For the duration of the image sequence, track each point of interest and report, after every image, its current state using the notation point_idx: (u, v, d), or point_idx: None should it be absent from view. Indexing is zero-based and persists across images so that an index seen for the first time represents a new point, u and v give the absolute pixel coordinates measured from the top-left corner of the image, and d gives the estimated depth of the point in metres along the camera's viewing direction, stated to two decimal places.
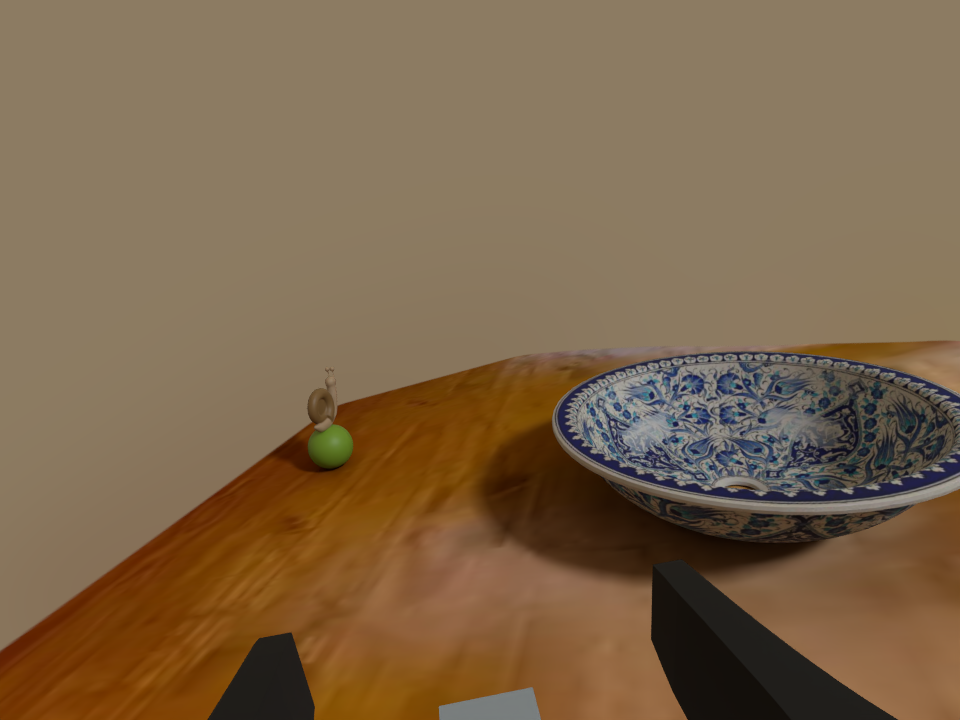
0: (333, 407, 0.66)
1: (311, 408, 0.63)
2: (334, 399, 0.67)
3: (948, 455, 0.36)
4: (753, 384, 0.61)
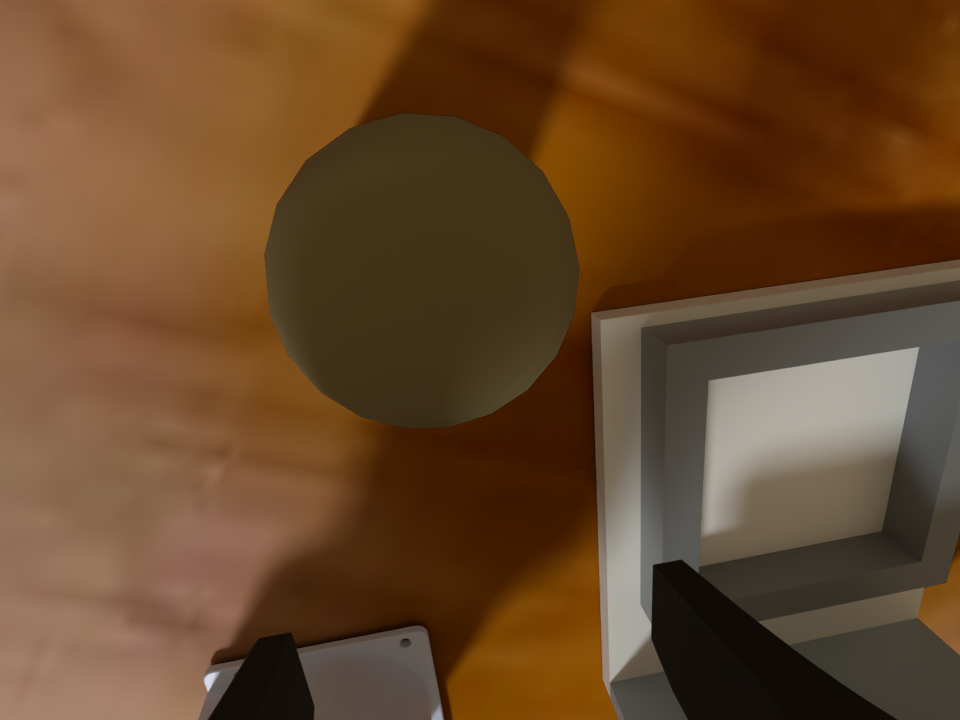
0: None
1: None
2: None
3: None
4: None
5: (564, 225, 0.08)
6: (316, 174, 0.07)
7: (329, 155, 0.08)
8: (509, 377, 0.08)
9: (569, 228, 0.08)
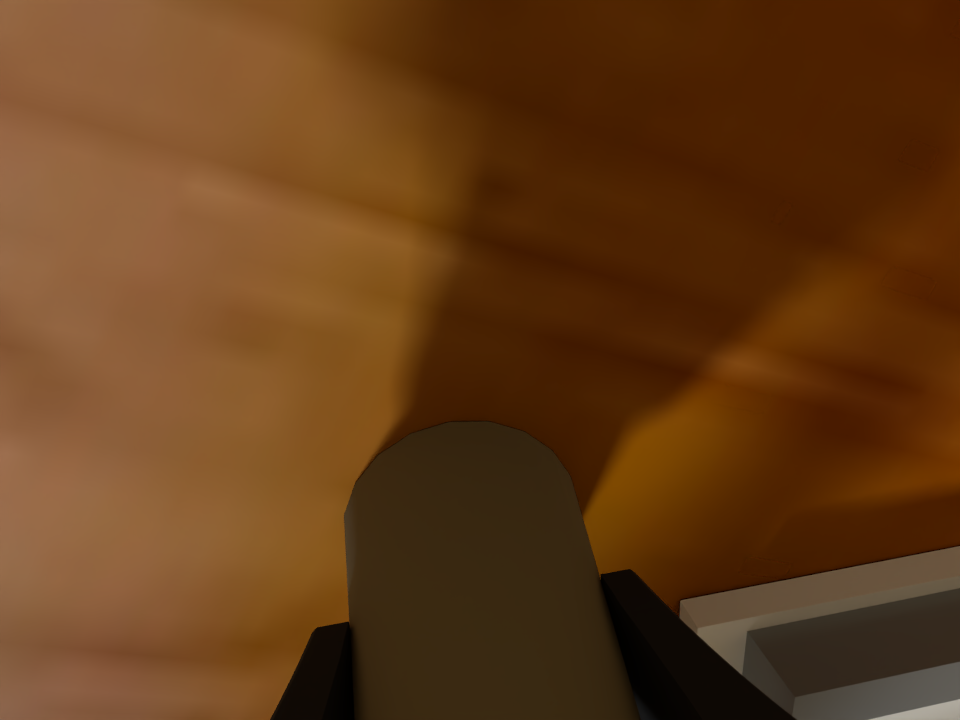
0: None
1: None
2: None
3: None
4: None
5: None
6: None
7: None
8: None
9: None
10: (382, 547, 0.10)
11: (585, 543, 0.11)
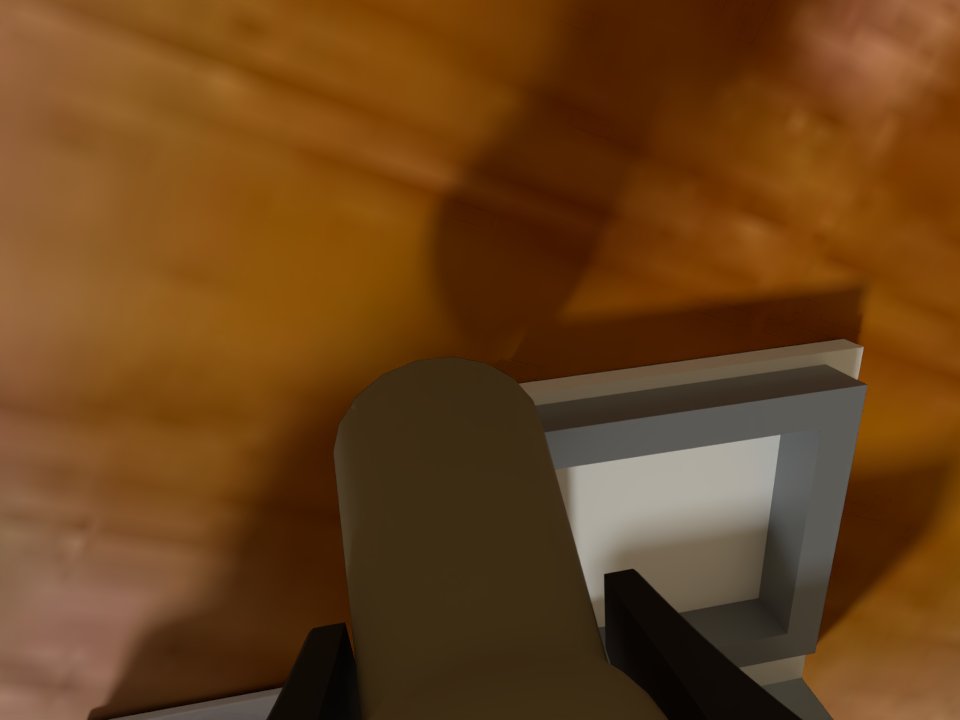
0: None
1: None
2: None
3: None
4: None
5: None
6: None
7: None
8: None
9: None
10: (362, 469, 0.12)
11: (542, 452, 0.13)
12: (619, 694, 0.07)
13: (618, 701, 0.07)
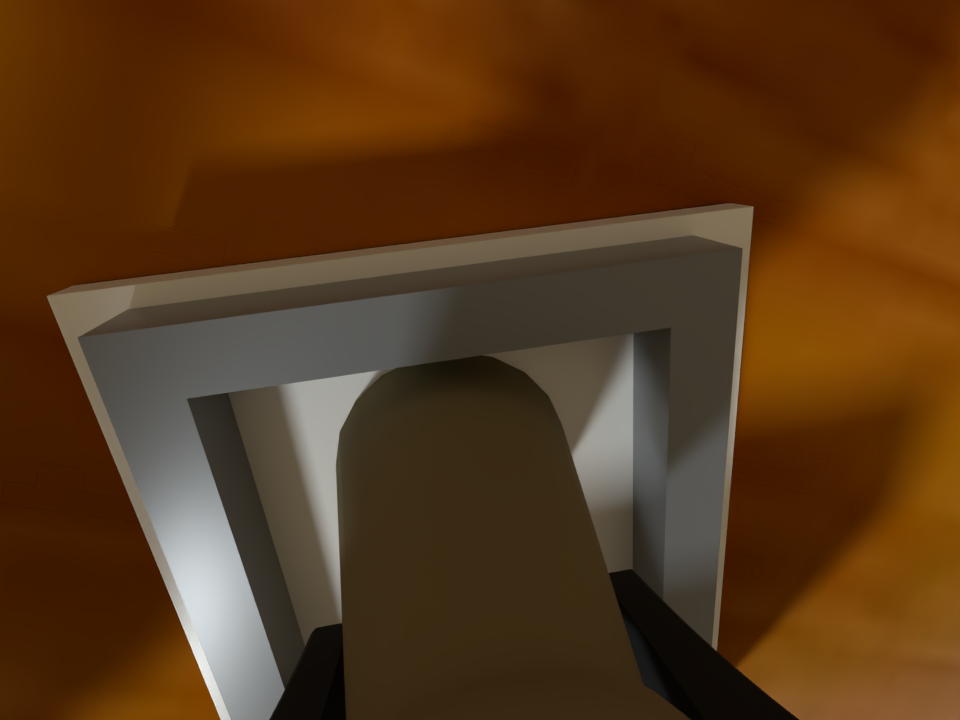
0: None
1: None
2: None
3: None
4: None
5: None
6: None
7: None
8: None
9: None
10: (357, 475, 0.11)
11: (557, 447, 0.11)
12: None
13: None
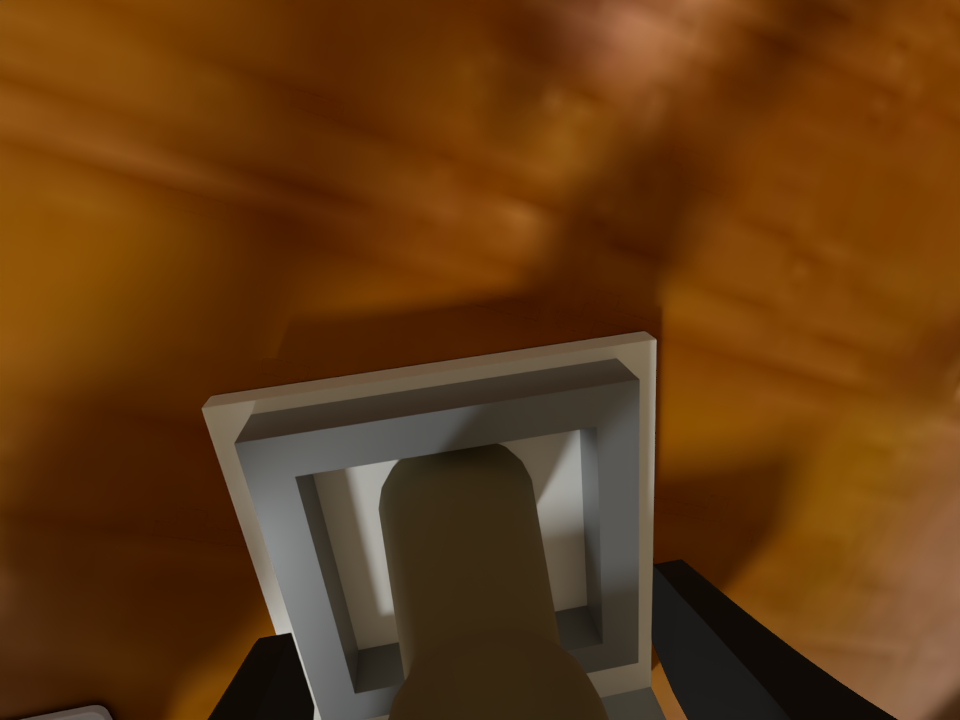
0: None
1: None
2: None
3: None
4: None
5: None
6: None
7: None
8: None
9: None
10: (398, 522, 0.17)
11: (524, 503, 0.18)
12: (547, 653, 0.12)
13: (545, 656, 0.12)
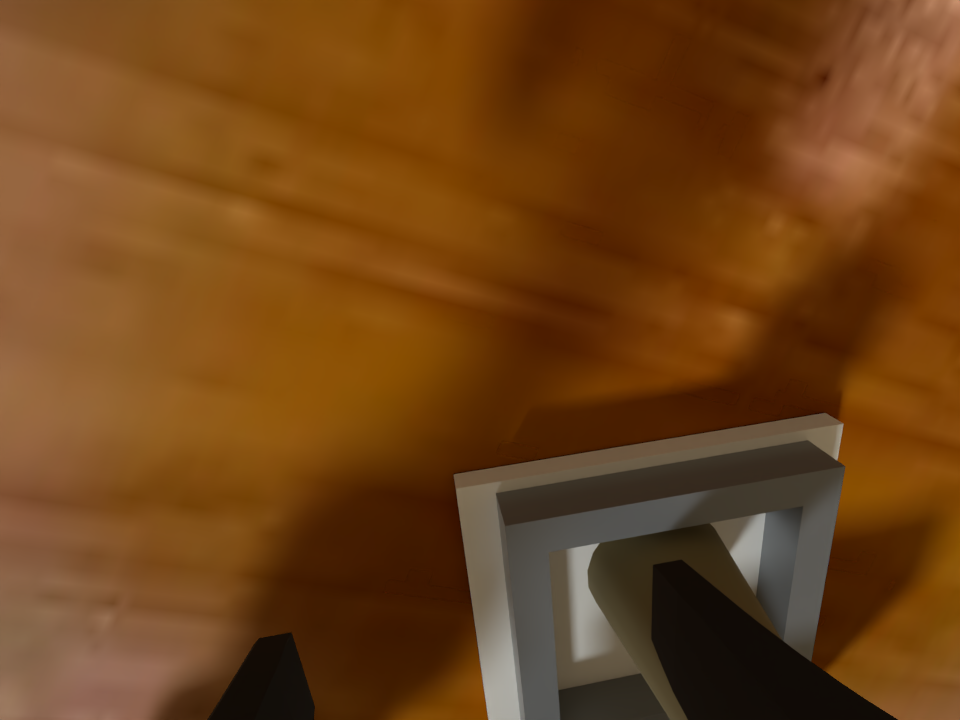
0: None
1: None
2: None
3: None
4: None
5: None
6: None
7: None
8: None
9: None
10: (637, 592, 0.20)
11: (740, 573, 0.20)
12: None
13: None
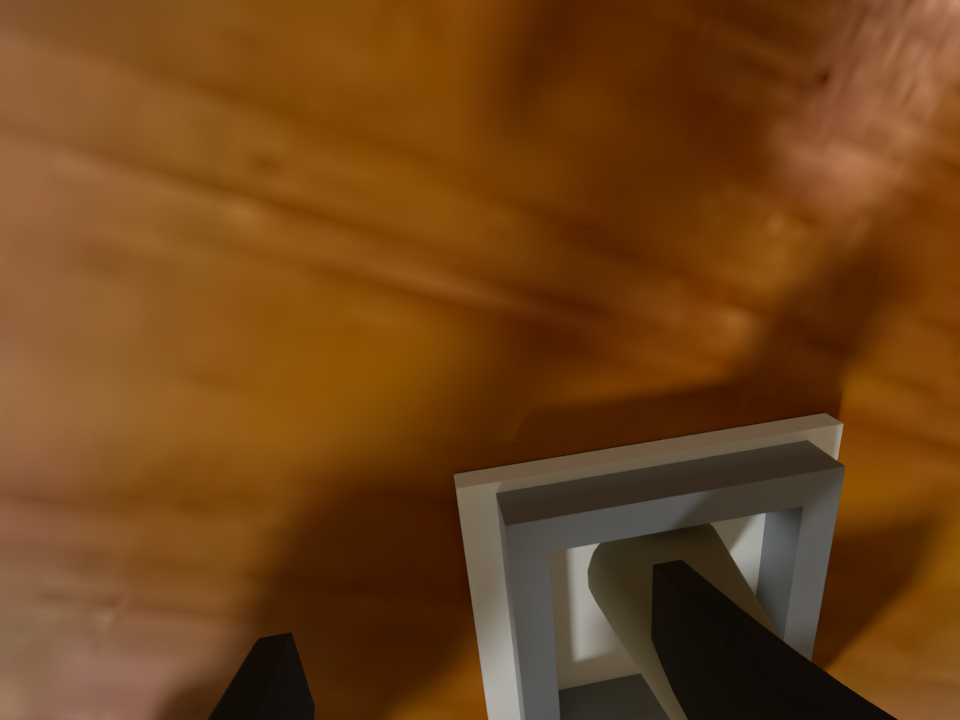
0: None
1: None
2: None
3: None
4: None
5: None
6: None
7: None
8: None
9: None
10: (637, 592, 0.20)
11: (740, 573, 0.20)
12: None
13: None
